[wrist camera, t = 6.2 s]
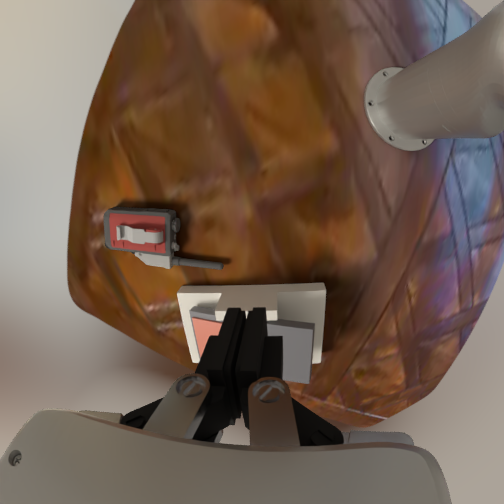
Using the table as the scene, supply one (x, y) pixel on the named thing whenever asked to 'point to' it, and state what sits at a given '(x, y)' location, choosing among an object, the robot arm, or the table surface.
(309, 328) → the rocker
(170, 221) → the walkie-talkie
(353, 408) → the table surface
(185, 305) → the switch housing
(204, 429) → the robot arm
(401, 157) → the table surface
